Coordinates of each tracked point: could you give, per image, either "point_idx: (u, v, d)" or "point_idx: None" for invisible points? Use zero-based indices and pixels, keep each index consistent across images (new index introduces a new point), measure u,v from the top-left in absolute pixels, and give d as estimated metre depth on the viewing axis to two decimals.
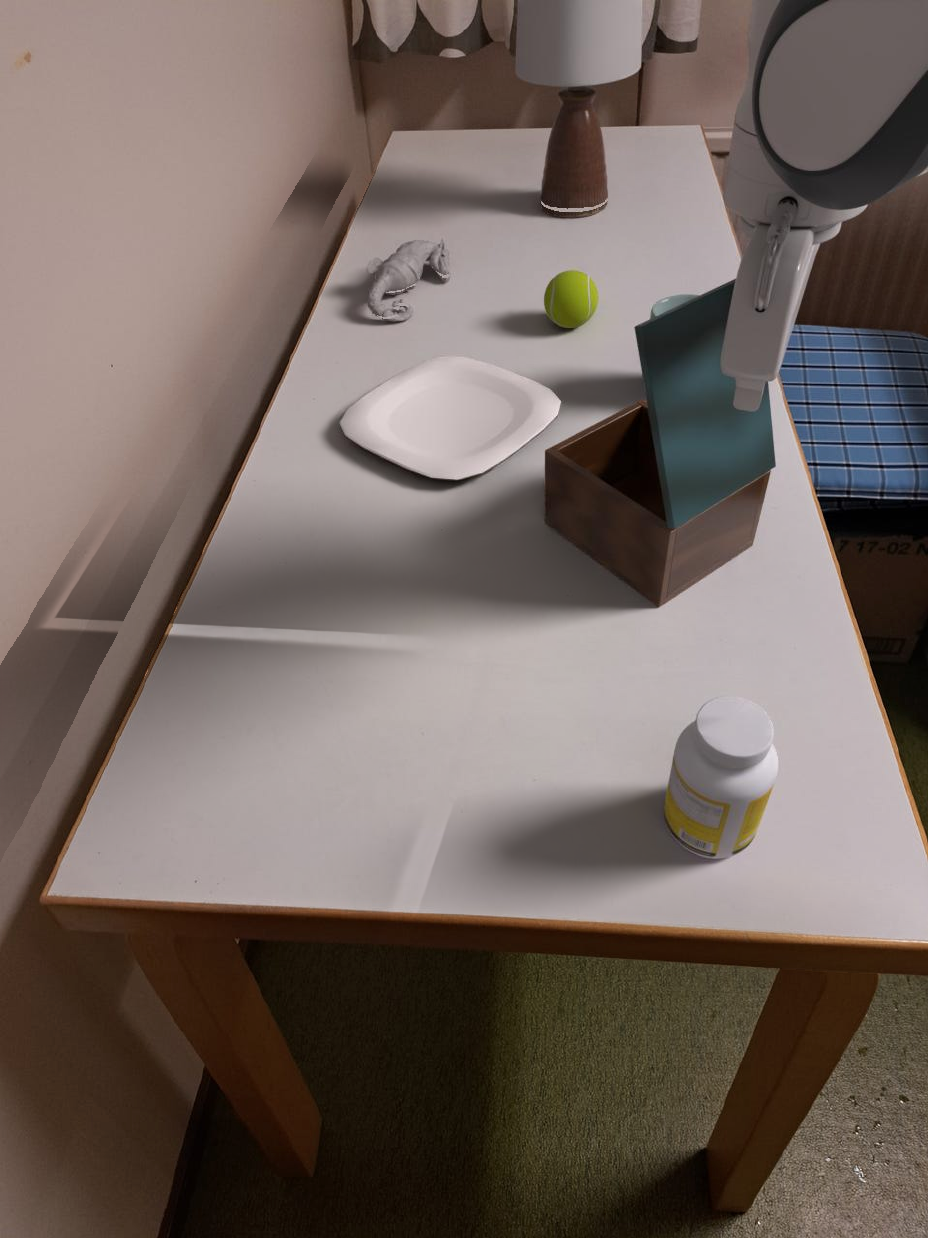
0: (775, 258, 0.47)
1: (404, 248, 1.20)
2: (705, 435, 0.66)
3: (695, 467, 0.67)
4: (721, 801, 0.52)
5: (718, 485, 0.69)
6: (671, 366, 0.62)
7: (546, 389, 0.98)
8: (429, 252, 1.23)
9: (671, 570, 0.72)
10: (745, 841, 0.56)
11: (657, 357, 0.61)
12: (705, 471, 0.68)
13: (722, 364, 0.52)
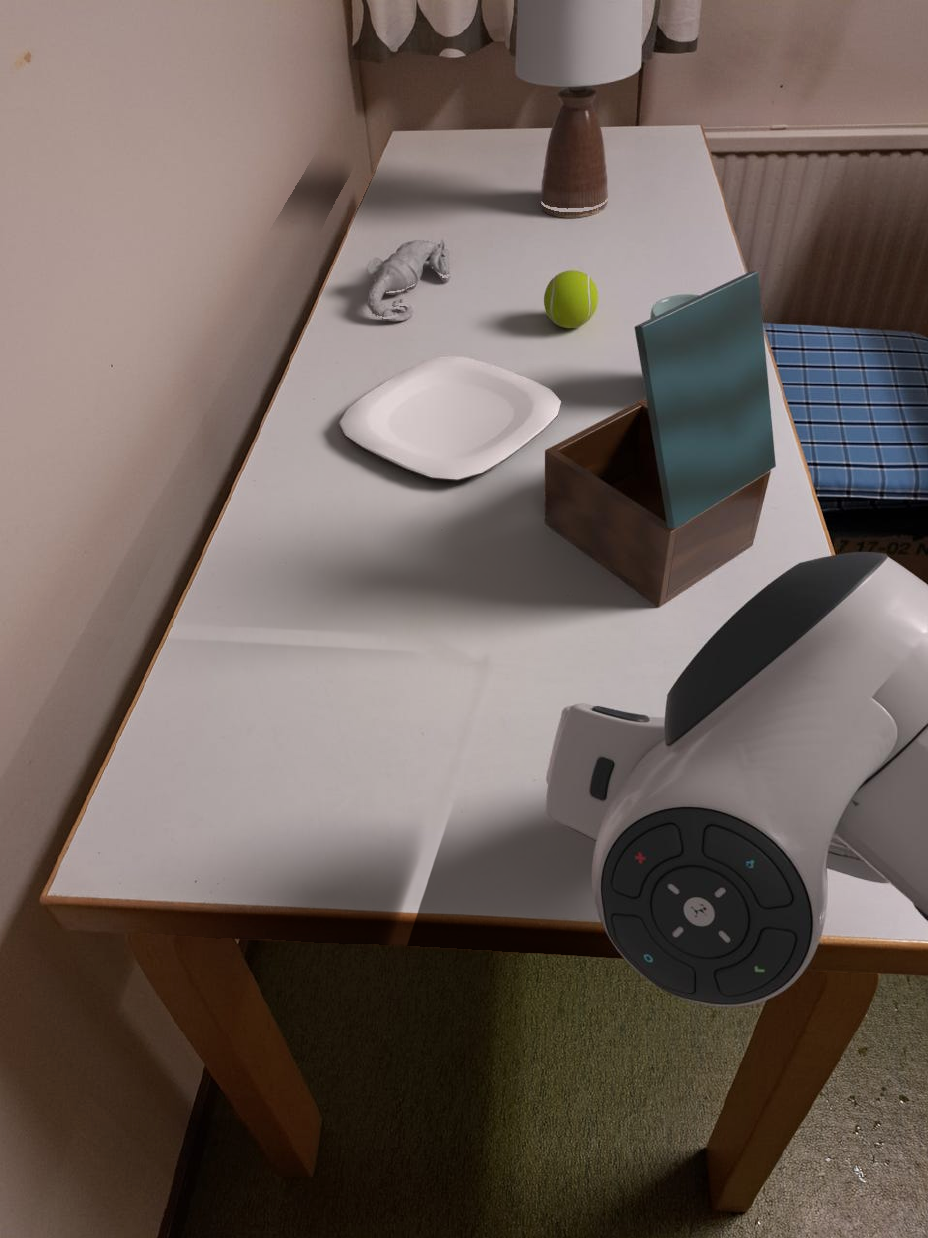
0: None
1: (404, 248, 1.20)
2: (705, 435, 0.66)
3: (695, 467, 0.67)
4: None
5: (718, 485, 0.69)
6: (671, 366, 0.62)
7: (546, 389, 0.98)
8: (429, 253, 1.23)
9: (671, 570, 0.72)
10: None
11: (657, 357, 0.61)
12: (705, 471, 0.68)
13: None
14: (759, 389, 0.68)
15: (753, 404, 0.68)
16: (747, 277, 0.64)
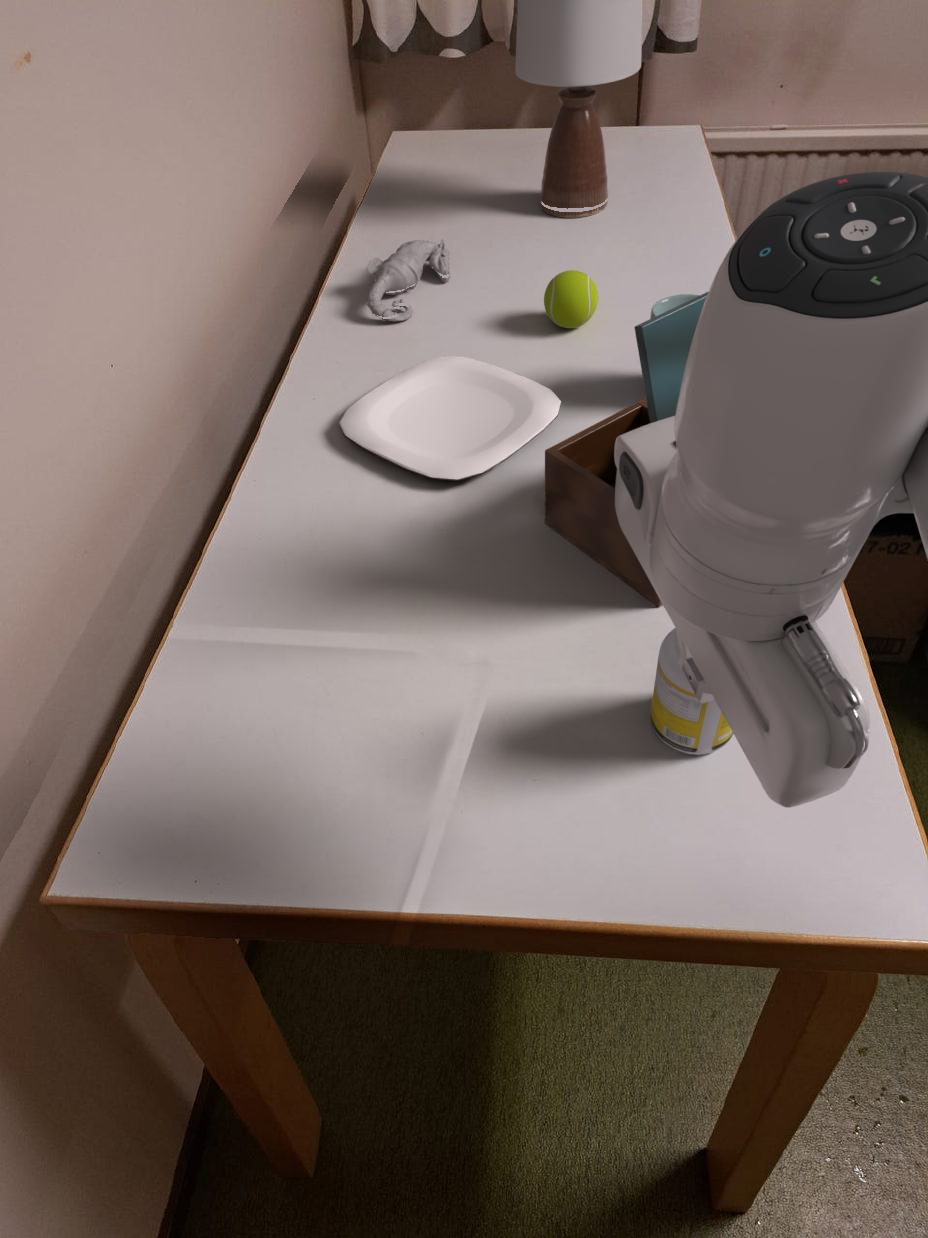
0: (867, 738, 0.35)
1: (404, 248, 1.20)
2: None
3: None
4: None
5: None
6: (671, 366, 0.62)
7: (546, 389, 0.98)
8: (429, 253, 1.23)
9: None
10: (723, 737, 0.62)
11: (657, 357, 0.61)
12: None
13: (784, 806, 0.40)
14: None
15: None
16: None
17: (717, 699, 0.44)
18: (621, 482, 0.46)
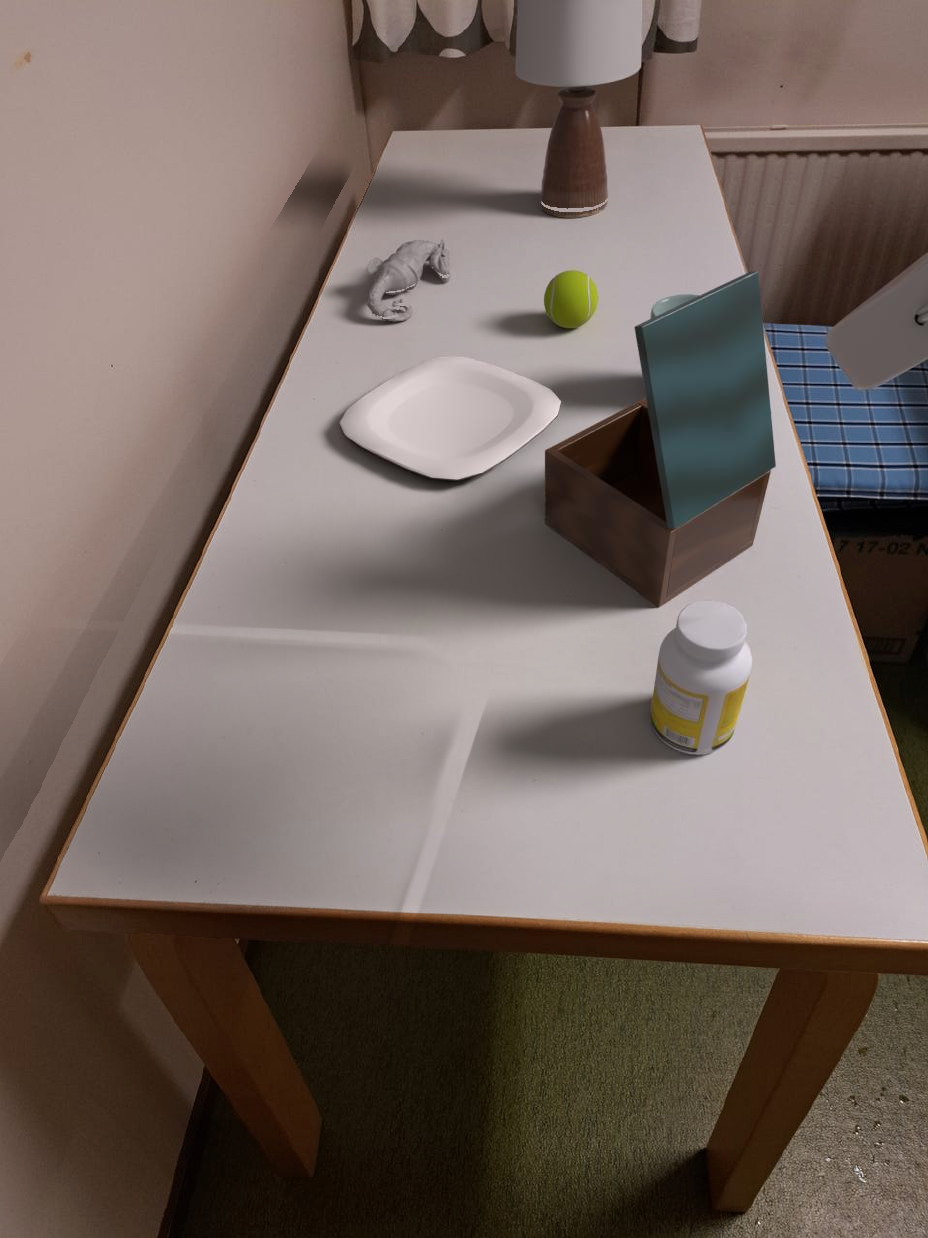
0: None
1: (404, 248, 1.20)
2: (705, 435, 0.66)
3: (695, 467, 0.67)
4: (700, 693, 0.58)
5: (718, 485, 0.69)
6: (671, 366, 0.62)
7: (546, 389, 0.98)
8: (429, 253, 1.23)
9: (671, 570, 0.72)
10: (723, 737, 0.62)
11: (657, 357, 0.61)
12: (705, 471, 0.68)
13: (832, 334, 0.40)
14: (759, 389, 0.68)
15: (753, 404, 0.68)
16: (747, 277, 0.64)
17: (890, 281, 0.43)
18: None
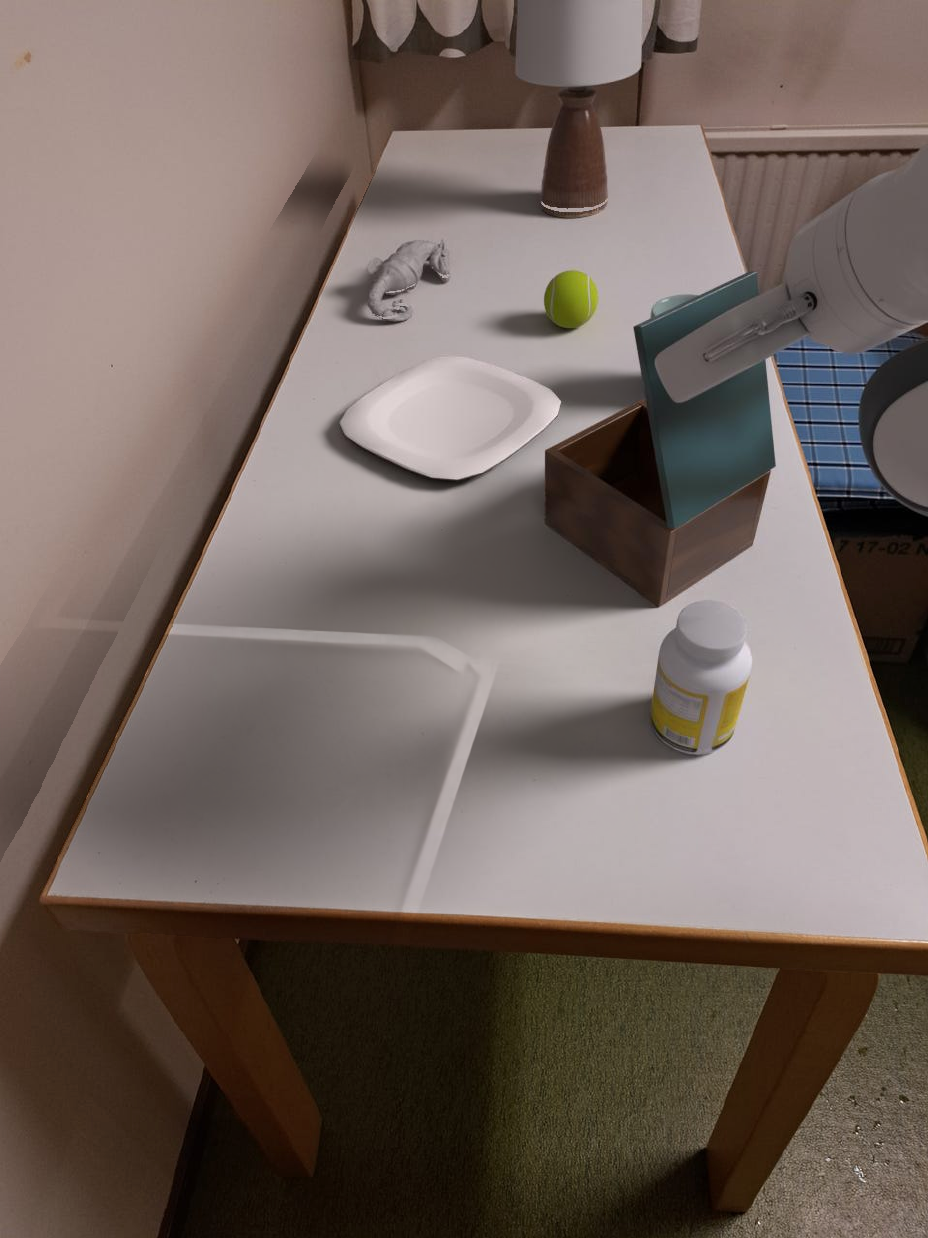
0: (739, 343, 0.49)
1: (404, 248, 1.20)
2: (705, 435, 0.66)
3: (694, 467, 0.67)
4: (700, 693, 0.58)
5: (718, 485, 0.69)
6: None
7: (546, 389, 0.98)
8: (429, 253, 1.23)
9: (671, 570, 0.72)
10: (723, 737, 0.62)
11: None
12: (705, 471, 0.68)
13: (656, 358, 0.55)
14: (759, 389, 0.68)
15: (753, 404, 0.69)
16: (746, 277, 0.64)
17: None
18: None
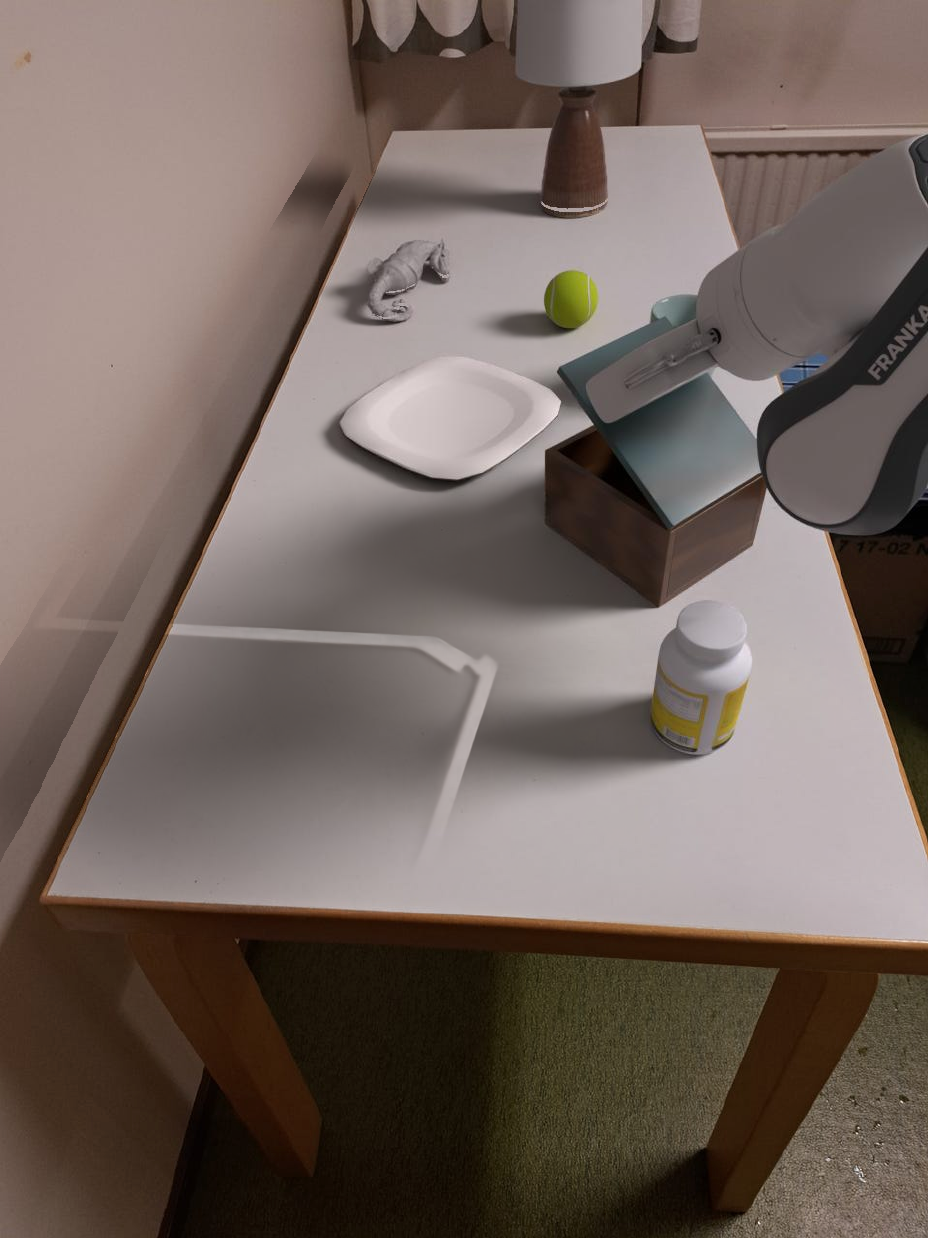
0: (652, 374, 0.56)
1: (404, 248, 1.20)
2: (670, 442, 0.70)
3: (671, 470, 0.69)
4: (700, 693, 0.58)
5: (709, 484, 0.70)
6: None
7: (546, 389, 0.98)
8: (429, 252, 1.23)
9: (671, 570, 0.72)
10: (723, 737, 0.62)
11: None
12: (686, 472, 0.70)
13: None
14: (716, 401, 0.73)
15: (716, 413, 0.72)
16: (656, 321, 0.74)
17: None
18: None
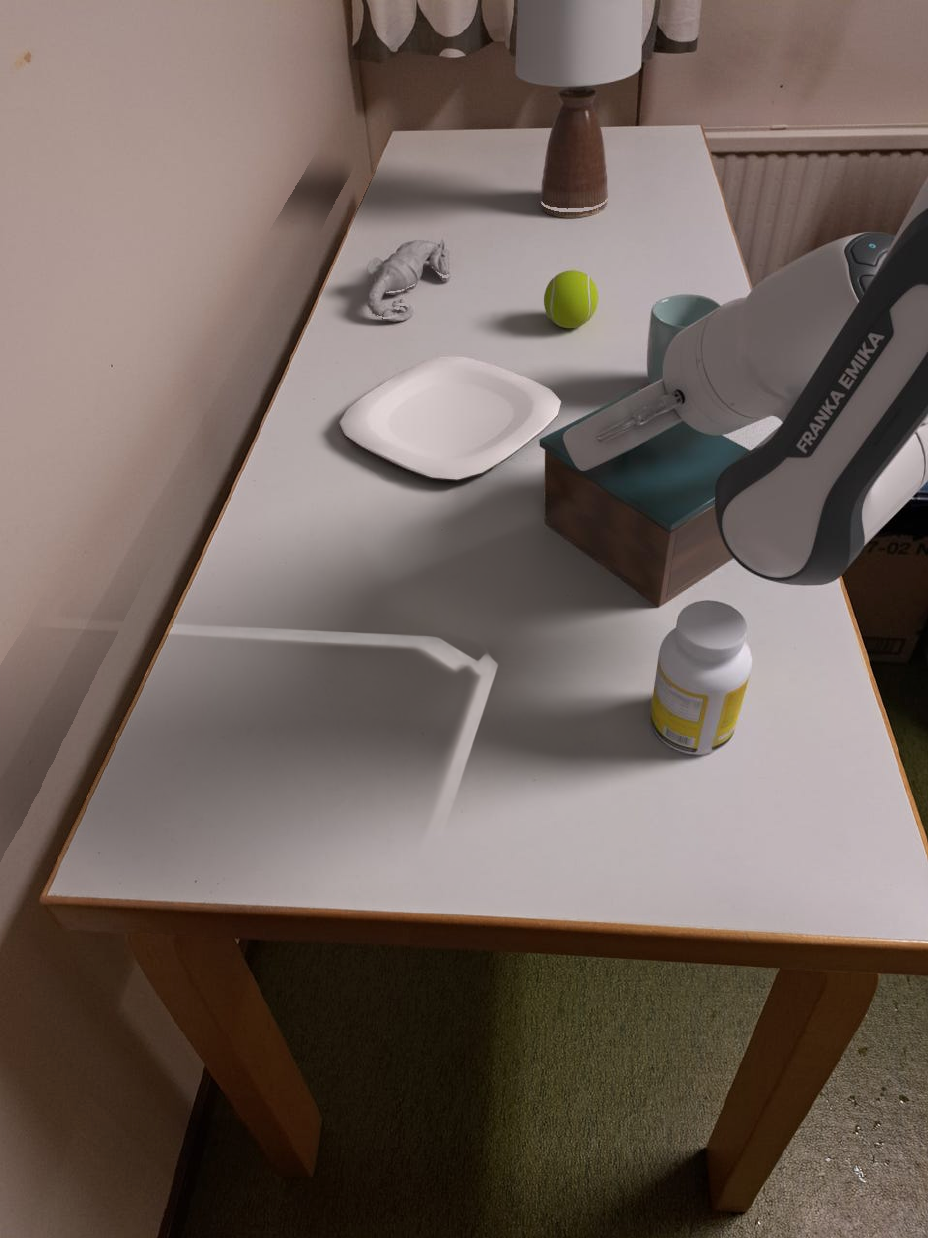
0: (621, 432, 0.61)
1: (404, 248, 1.20)
2: (657, 467, 0.73)
3: (662, 485, 0.71)
4: (700, 693, 0.58)
5: (705, 488, 0.71)
6: None
7: (546, 389, 0.98)
8: (429, 253, 1.23)
9: (671, 570, 0.72)
10: (723, 737, 0.62)
11: None
12: (678, 484, 0.71)
13: None
14: None
15: (700, 439, 0.75)
16: (628, 394, 0.81)
17: None
18: None
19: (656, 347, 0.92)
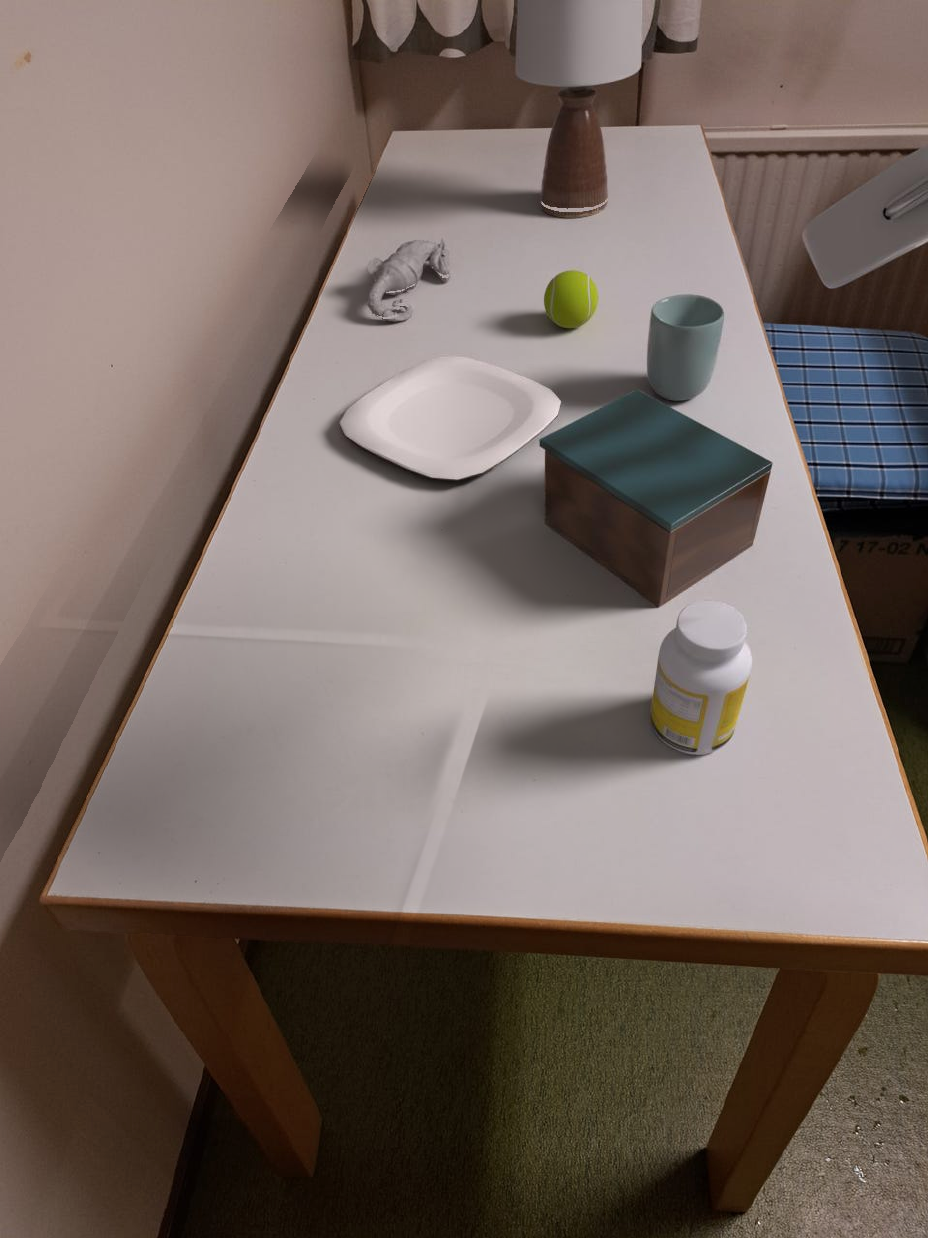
0: None
1: (404, 248, 1.20)
2: (657, 467, 0.73)
3: (662, 485, 0.71)
4: (700, 693, 0.58)
5: (705, 488, 0.71)
6: (584, 446, 0.76)
7: (546, 389, 0.98)
8: (429, 252, 1.23)
9: (671, 570, 0.72)
10: (723, 737, 0.62)
11: (566, 446, 0.76)
12: (678, 484, 0.71)
13: (808, 226, 0.42)
14: (699, 431, 0.76)
15: (700, 439, 0.75)
16: (628, 394, 0.81)
17: None
18: None
19: (656, 346, 0.92)
